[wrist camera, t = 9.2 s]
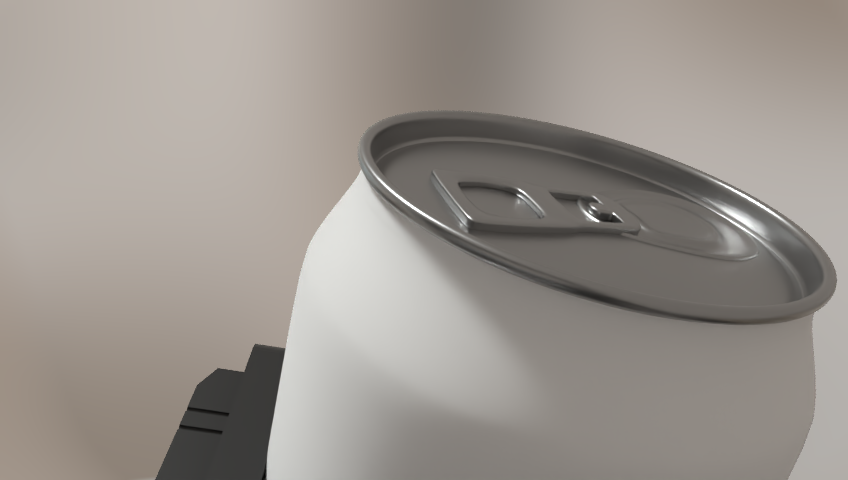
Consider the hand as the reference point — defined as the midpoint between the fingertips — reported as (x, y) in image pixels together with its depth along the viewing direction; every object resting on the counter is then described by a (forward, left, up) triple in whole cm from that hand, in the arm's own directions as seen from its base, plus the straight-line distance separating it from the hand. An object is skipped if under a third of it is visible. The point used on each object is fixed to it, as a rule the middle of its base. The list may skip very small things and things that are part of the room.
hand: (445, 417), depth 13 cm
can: (-2, -2, -7) cm, 7 cm away
